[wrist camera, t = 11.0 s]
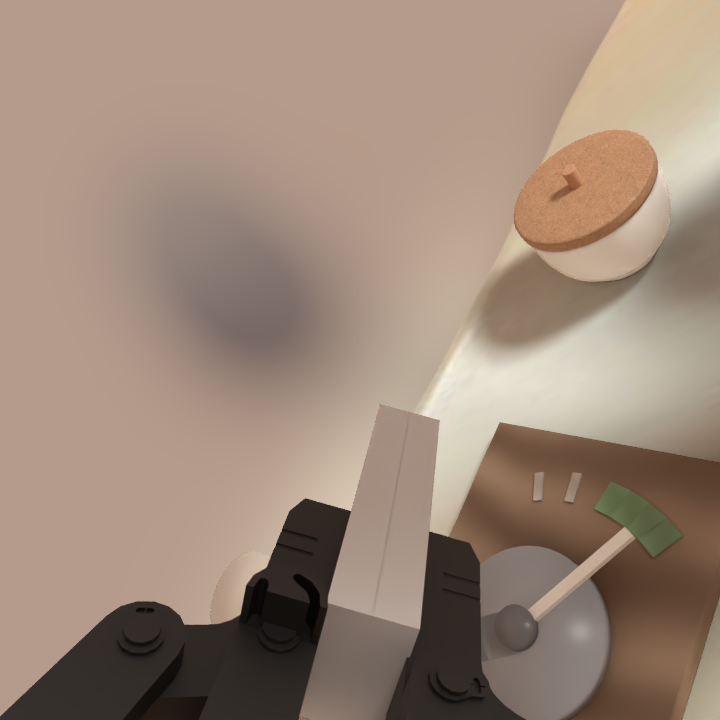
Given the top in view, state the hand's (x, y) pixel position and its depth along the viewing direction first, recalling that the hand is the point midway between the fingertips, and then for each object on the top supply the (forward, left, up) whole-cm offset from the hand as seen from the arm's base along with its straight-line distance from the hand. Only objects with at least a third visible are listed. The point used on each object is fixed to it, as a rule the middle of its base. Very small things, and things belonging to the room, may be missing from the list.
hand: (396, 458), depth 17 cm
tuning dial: (+2, -12, -26) cm, 28 cm away
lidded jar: (-29, -16, -28) cm, 43 cm away
